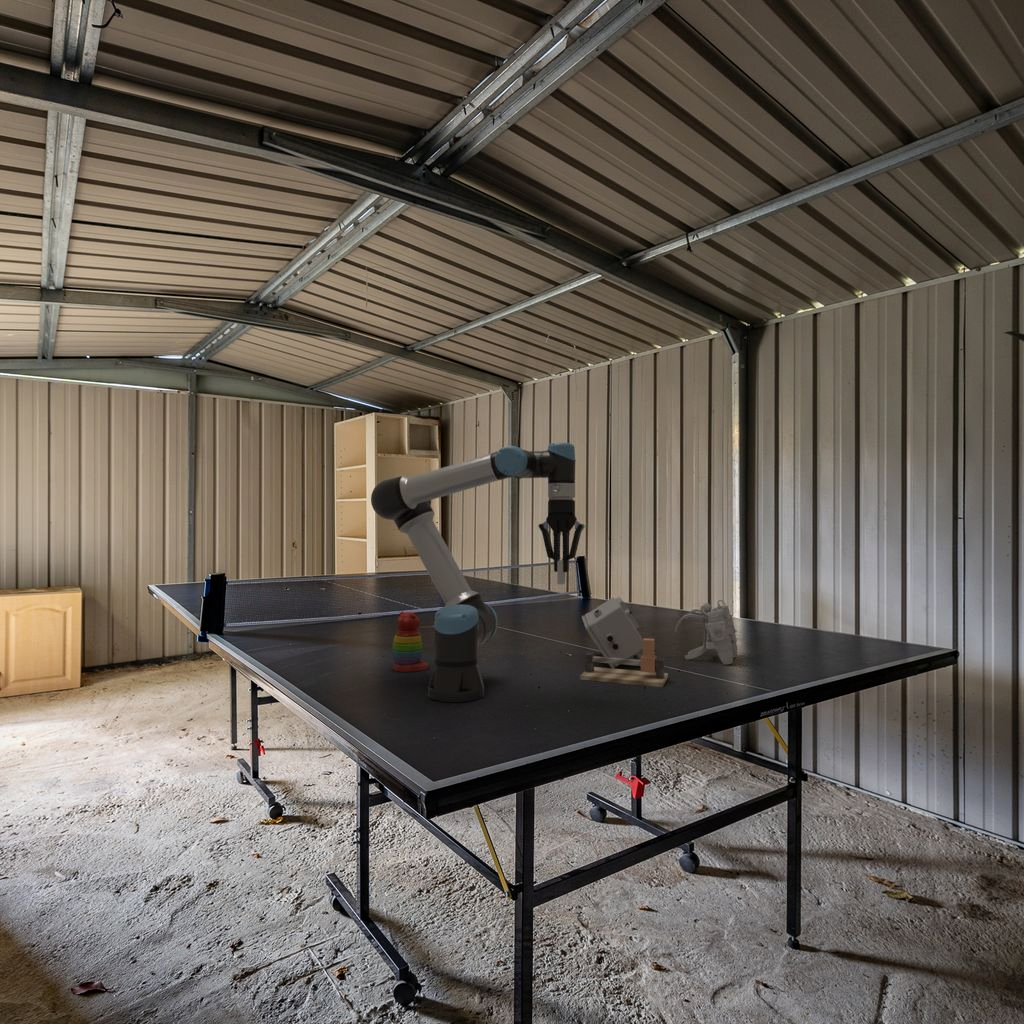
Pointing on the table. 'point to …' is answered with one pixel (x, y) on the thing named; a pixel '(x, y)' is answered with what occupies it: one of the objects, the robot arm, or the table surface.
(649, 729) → the table surface
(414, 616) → the red rounded piece
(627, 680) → the rail board
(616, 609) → the junction box
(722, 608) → the twin engine backpack
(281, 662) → the table surface
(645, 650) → the brown stepped block
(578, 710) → the table surface
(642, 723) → the table surface
